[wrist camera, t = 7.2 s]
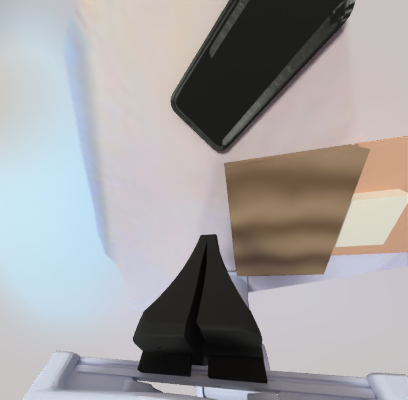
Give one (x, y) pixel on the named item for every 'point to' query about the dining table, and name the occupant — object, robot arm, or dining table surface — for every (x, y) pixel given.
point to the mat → (384, 180)
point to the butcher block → (290, 208)
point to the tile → (371, 217)
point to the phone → (251, 62)
